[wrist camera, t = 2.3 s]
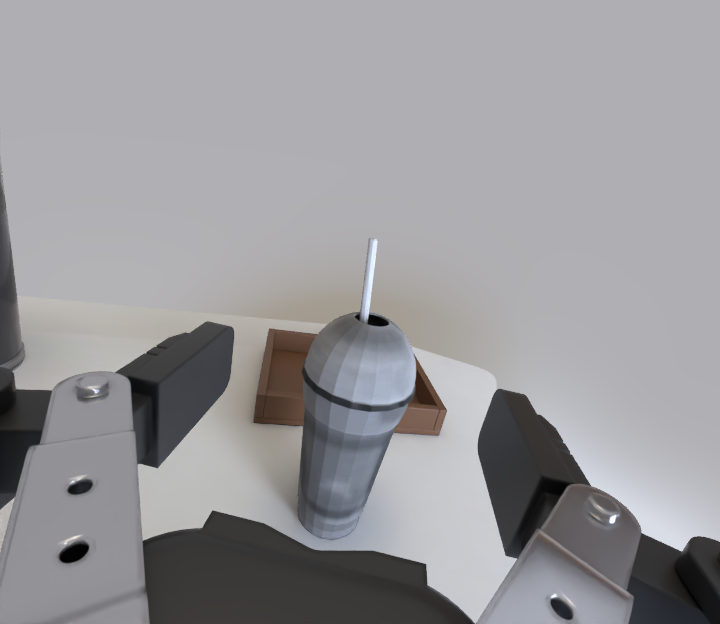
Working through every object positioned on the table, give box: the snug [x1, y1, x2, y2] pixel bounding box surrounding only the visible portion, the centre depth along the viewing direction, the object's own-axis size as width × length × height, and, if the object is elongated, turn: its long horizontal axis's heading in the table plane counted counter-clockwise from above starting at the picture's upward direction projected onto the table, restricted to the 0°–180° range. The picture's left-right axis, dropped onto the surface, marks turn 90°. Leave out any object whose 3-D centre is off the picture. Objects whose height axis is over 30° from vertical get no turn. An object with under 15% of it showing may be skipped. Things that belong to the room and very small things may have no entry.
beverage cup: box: [298, 239, 416, 539], centre depth 25 cm, size 7×7×20 cm
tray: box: [254, 329, 447, 435], centre depth 43 cm, size 19×15×3 cm
